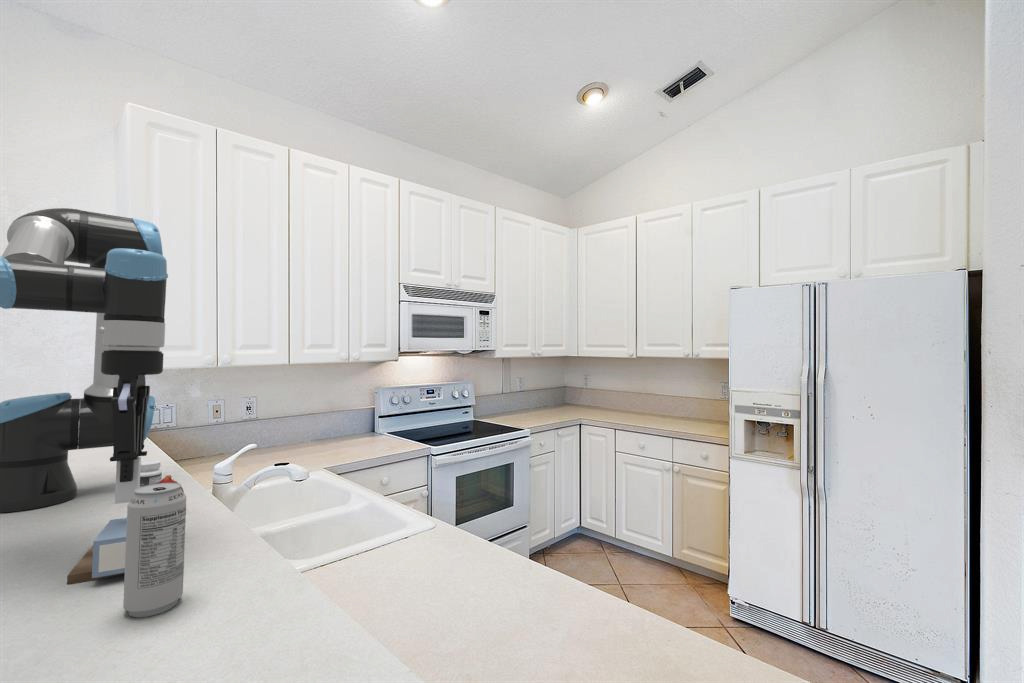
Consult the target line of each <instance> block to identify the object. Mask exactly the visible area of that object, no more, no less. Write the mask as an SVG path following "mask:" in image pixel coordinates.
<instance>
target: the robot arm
mask: <svg viewBox="0 0 1024 683" xmlns="http://www.w3.org/2000/svg"><path fill="white" fill-rule="evenodd" d="M160 234H161V233H160V230H159V228H158V227H157V225H156V224H154V223H153V222H150V221H145V220H142V219H137V218H133V217H131V218H130V217H126V216H119V215H114V214H113V215H112V214H111V215H110V214H106V213H100V212H95V211H94V212H92V211H87V210H81V209H76V208H67V207H65V208H64V207H61V208H60V207H58V208H57V207H56V208H45V209H40V210H39V209H38V210H35V211H31V212H28V213H26V214H25V213H24V214H23V215H21V216H19V217H16V219H14V220H13V221H12V222H11V224H10V225H9V227H8V228H7V232H6V239H7V243H8V244H7V246H6V248H5V250H4V251H3V253H2V255H1V256H0V308H1V309H3V310H4V309H5V310H7V309H9V310H10V309H20V310H41V311H61V312H77V313H89V314H90V313H95V314H96V317H95V318H96V322H95V341H94V343H95V344H94V360H93V361H94V362H93V363H94V364H93V380H92V384H91V385H89V386H88V387H87V388H85V389H84V391H83V398H72V395H71V393H70V392H59V393H47V394H46V393H45V394H41V395H40V394H39V395H32V396H25V397H23V396H22V397H18V398H11V399H7V400H3V401H1V402H0V514H1V513H12V512H13V513H14V512H20V511H27V510H34V509H39V508H44V507H49V506H53V505H58V504H62V503H64V502H67V501H70V500H72V499H74V498H76V497H77V495H78V494H77V492H78V491H77V490H78V486H77V482H76V481H75V477H74V475H73V473H72V471H71V467H70V466H69V462H68V460H69V451H73V450H74V451H75V450H77V451H78V450H86V449H87V450H88V449H96V448H108V447H113V453H112V456H110V457H109V462H116V466H115V468H116V469H115V489H114V490H115V492H114V493H115V494H114V504H124V503H129V502H130V501H131V499H132V498H133V496H134V494H135V493H134V491H135V490H136V489H137V488H140V468H141V462H142V457H147V455H148V451H145V450H144V448H145V440H146V439H147V437H149V433H150V431H151V428H152V425H153V424H152V423H153V421H154V420H153V419H154V414H155V405H156V399H155V397H154V396H153V395H151V393H150V392H151V387H150V386H151V385H147V384H146V383H147V382H146V376H147V375H148V376H150V375H151V376H152V375H153V376H154V375H160V374H162V373H163V370H164V355H165V354H164V353H163V351H160V349H161V348H163V347H165V338H166V337H165V335H166V323H165V313H166V312H165V311H166V296H167V279H168V278H169V274H168V268H167V266H168V264H167V259H166V257H165V256H164V255H163V252H164V251H163V245H162V238H161V237H162V236H161V235H160ZM65 262H68V263H77V264H85V265H89V266H83V265H74V264H66V263H65ZM143 450H144V451H143Z"/></svg>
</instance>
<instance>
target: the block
mask: <svg viewBox="0 0 1024 683" xmlns="http://www.w3.org/2000/svg"><path fill="white" fill-rule="evenodd" d="M126 530H127V517H123V518H115V519H110V520H109V521H108V523H107V524H106V525H105V526H104V527H103V529H102V530H101V531H100V533H99V534H98V535H97V537H96V538H95V539H94V540H93V544H92V545H93V563H92V578H97V577H102V576H108V575H114V574H120V573H125V553H126Z"/></svg>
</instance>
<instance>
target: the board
mask: <svg viewBox="0 0 1024 683" xmlns="http://www.w3.org/2000/svg"><path fill="white" fill-rule="evenodd" d="M92 563H93V544H92V545H91V546H90V547H89V549H88V550H87V551H86V553H85V554H84V555H83V556H82V557H81V558H80V559H79V561H78V562H77V564H76V565H75V566H74V567H73V568H72V569H71V571H69V573H68V575H67V578H66V585H71V584H77V583H83V582H88V581H89V582H90V581H94V580H101V579H106V578H113V577H116V576H117V577H119V576H125V573H120V574H114V575H108V576H102V577H97V578H92Z"/></svg>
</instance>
